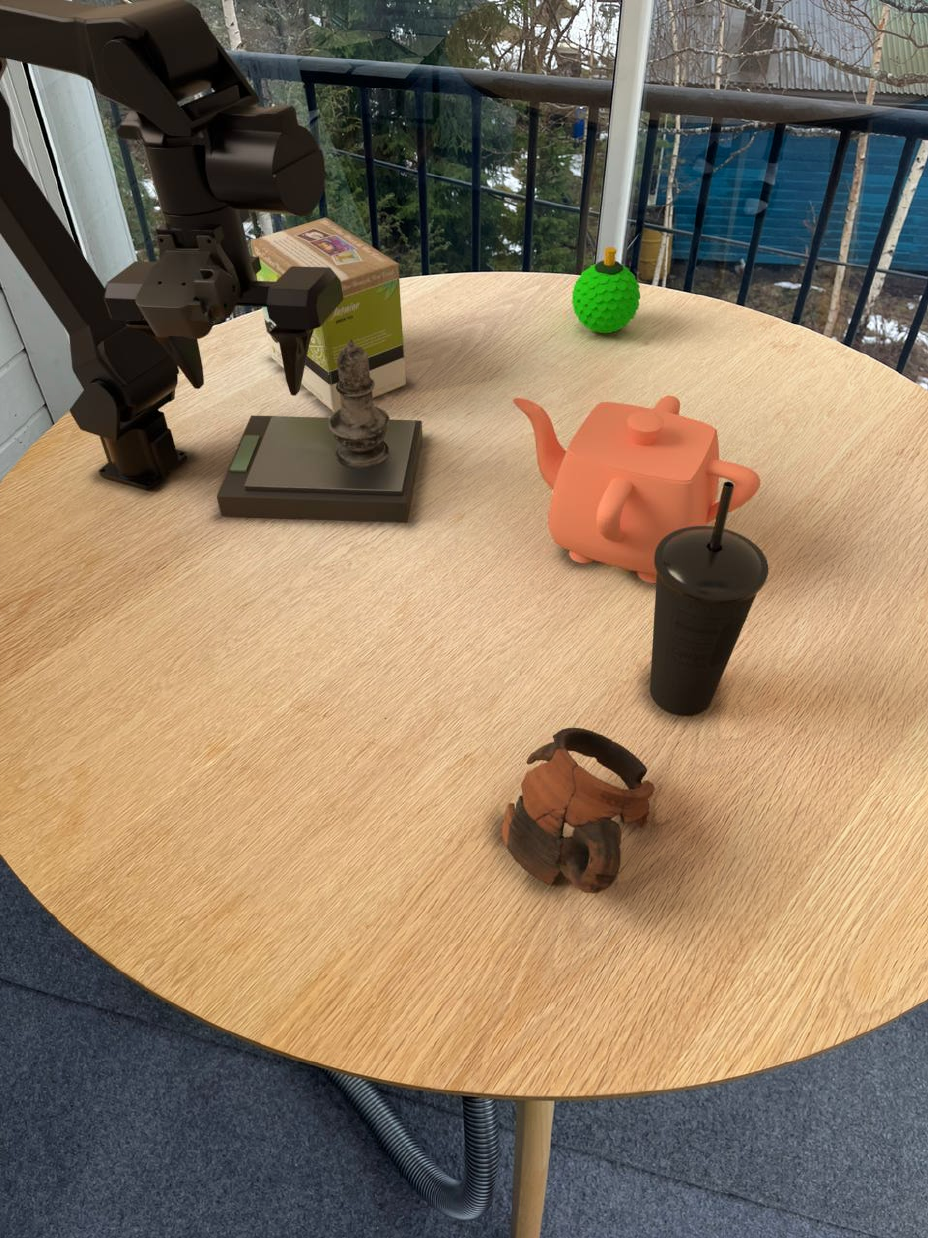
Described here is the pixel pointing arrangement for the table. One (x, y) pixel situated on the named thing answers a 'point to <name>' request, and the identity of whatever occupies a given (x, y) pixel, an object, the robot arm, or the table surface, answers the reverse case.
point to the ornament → (606, 295)
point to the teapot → (632, 480)
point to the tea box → (341, 304)
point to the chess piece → (358, 413)
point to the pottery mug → (576, 811)
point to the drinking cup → (700, 609)
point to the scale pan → (325, 460)
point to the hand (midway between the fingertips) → (247, 389)
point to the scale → (303, 503)
